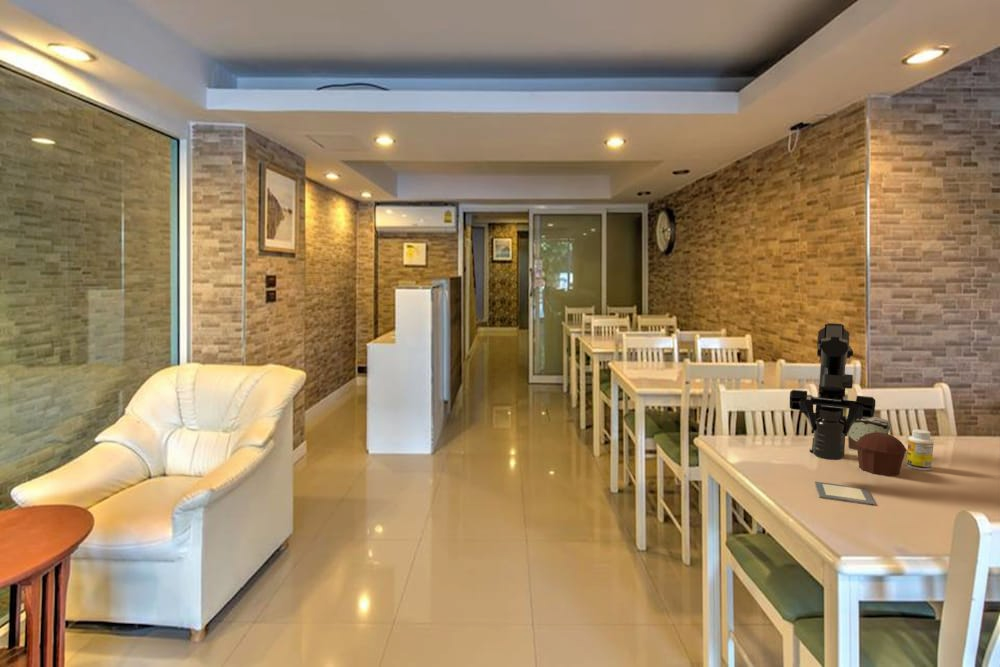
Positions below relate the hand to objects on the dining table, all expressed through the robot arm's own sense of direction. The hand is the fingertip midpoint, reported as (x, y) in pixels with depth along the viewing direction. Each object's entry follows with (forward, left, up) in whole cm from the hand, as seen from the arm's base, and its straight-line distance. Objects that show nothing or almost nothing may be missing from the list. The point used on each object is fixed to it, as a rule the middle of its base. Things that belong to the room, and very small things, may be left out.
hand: (829, 431), depth 143 cm
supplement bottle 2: (-35, -9, -13) cm, 38 cm away
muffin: (-22, -8, -13) cm, 27 cm away
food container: (-34, -25, -13) cm, 44 cm away
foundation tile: (+1, +7, -13) cm, 15 cm away
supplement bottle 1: (-1, -1, -7) cm, 7 cm away
